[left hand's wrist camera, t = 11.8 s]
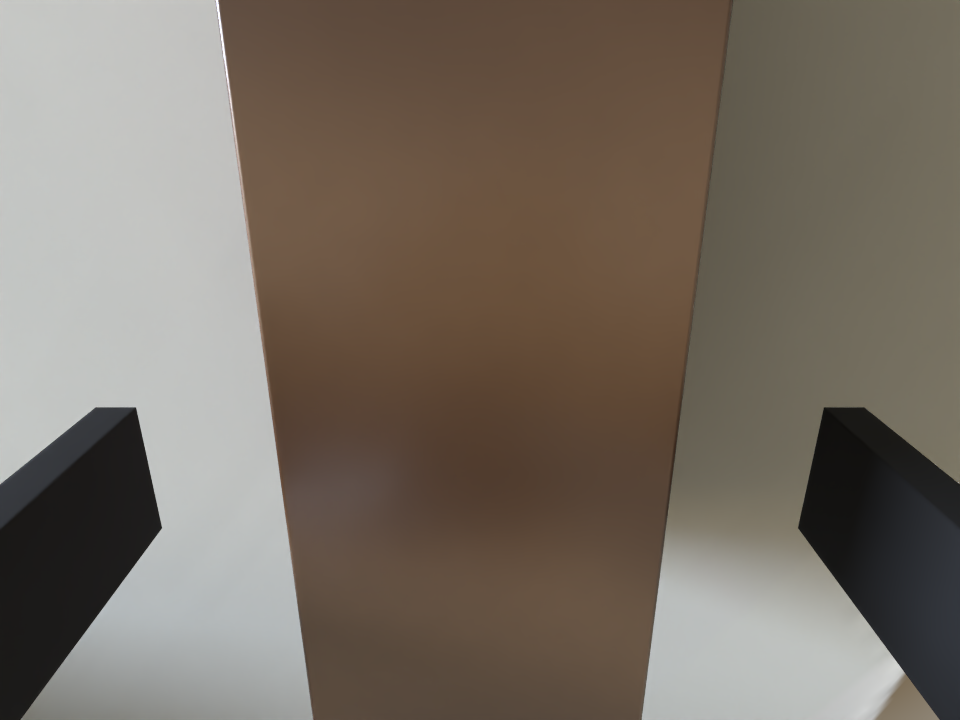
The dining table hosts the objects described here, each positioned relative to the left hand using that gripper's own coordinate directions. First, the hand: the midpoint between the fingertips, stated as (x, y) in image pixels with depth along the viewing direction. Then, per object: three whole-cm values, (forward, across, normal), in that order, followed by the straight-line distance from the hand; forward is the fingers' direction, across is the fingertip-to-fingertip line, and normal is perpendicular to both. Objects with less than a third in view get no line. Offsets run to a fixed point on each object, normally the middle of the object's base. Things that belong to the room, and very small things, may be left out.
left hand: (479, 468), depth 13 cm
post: (+5, 0, -32) cm, 32 cm away
